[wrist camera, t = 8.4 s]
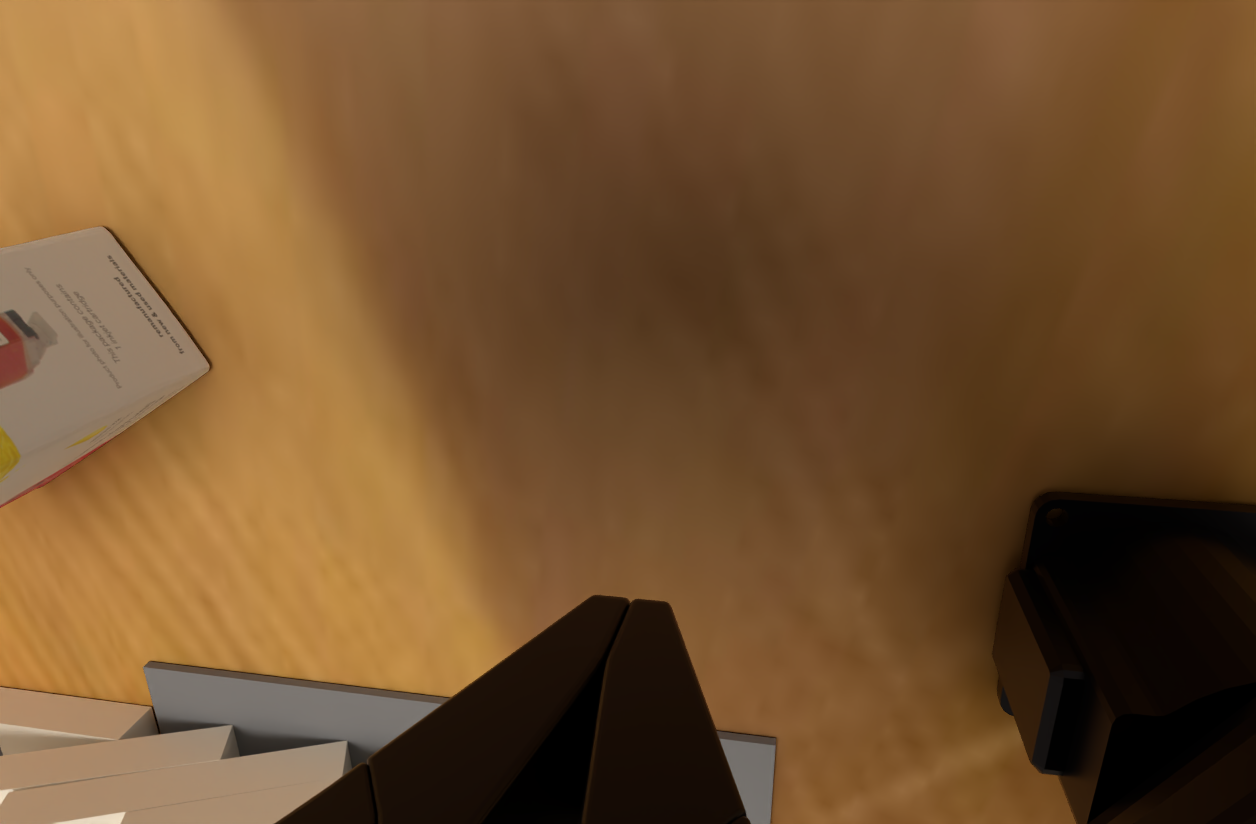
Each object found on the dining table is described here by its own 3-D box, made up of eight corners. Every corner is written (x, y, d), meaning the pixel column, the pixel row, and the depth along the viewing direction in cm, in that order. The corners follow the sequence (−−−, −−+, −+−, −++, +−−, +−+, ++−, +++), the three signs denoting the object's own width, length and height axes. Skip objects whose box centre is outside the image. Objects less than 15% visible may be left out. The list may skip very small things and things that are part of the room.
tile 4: (220, 759, 27) (-135, 809, 25) (247, 873, 28) (-82, 927, 27) (232, 724, 28) (-101, 769, 26) (258, 834, 30) (-53, 883, 28)
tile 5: (117, 740, 28) (-133, 705, 29) (150, 851, 29) (-87, 812, 31) (151, 706, 29) (-88, 675, 31) (181, 815, 31) (-47, 779, 33)
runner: (775, 738, 25) (775, 745, 24) (761, 949, 28) (760, 958, 28) (149, 661, 28) (142, 667, 28) (201, 856, 31) (195, 863, 31)
